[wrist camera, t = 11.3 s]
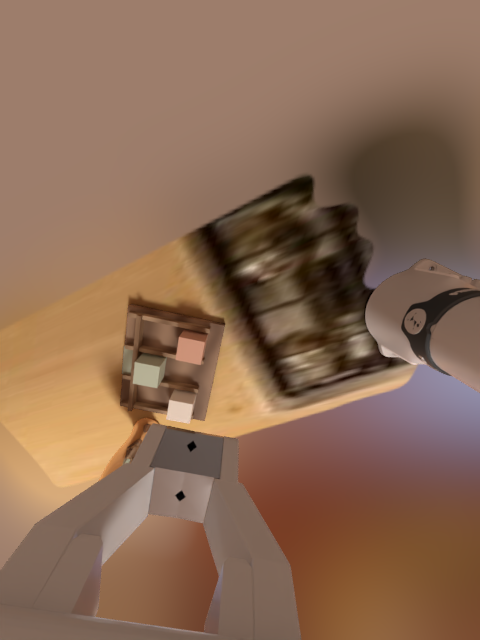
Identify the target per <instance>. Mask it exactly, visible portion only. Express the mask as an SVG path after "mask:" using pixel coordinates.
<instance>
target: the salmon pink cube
mask: <svg viewBox="0 0 480 640" xmlns="http://www.w3.org/2000/svg"><path fill="white" fill-rule="evenodd" d="M207 337H208V334H205V333H201V332H196V331H191V330H186V329H184V331H183V332H182V333H181V335H180V336H179V340H178V347H177V353H176V360H178V361H183V362H188V363H193V364H198V365H201V362H202V359H203V356H204V352H205V347H206V342H207Z"/></svg>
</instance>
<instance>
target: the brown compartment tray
mask: <svg viewBox="0 0 480 640" xmlns="http://www.w3.org/2000/svg"><path fill="white" fill-rule="evenodd" d="M224 327H225V324H223V323H219V322H214V321H209V320H204V319H200V318H195V317H190V316H186V315H181V314H176V313H171V312H167V311H162V310H157V309H152V308H148V307H143V306H138V305H133V304H130V305H128V315H127V328H126V340H125V346H124V354H123V367H122V374H123V376H122V389H121V401H120V406H124V407H128V410H129V411H132V410H133V408H134V409H140V410H145V411H150V412H156V413H161V414H166V415H167V412H168V406H169V400H170V398H171V395H172V393H173V391H174V389H179V390H185V391H190V392H195V393H197V394H196V399H195V405H194V410H193V413H192V417H191V419H197V420H202V421H205V416H206V412H207V407H208V402H209V398H210V393H211V388H212V383H213V379H214V374H215V369H216V364H217V360H218V355H219V350H220V346H221V341H222V336H223V331H224ZM184 329H186V330H191V331H196V332H201V333H205V334H208V337H207V342H206V347H205V352H204V356H203V359H202V362H201V365H198V364H193V363H188V362H183V361H178V360H176V353H177V347H178V340H179V336H180V335H181V333H182V332H183V331H184ZM143 353H149V354H154V355H159V356H163V357H167V359H166V366H165V373H164V378H163V379H162V381H161V383H160V384H159V386H158V388H153V387H148V386H143V385H137V384H133V376H134V366H135V361H136V360H137V359H138V358H139V357H140V356H141V355H142V354H143Z"/></svg>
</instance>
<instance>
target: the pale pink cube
mask: <svg viewBox="0 0 480 640" xmlns="http://www.w3.org/2000/svg"><path fill="white" fill-rule="evenodd" d="M196 394H197V393H195V392H190V391H185V390H179V389H174V391H173V393H172V395H171V398H170V400H169V406H168V412H167V420H172V421H178V422H183V423H188V424H189V423H190V420H191V417H192V413H193V410H194V405H195V399H196Z"/></svg>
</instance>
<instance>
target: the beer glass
mask: <svg viewBox="0 0 480 640" xmlns="http://www.w3.org/2000/svg"><path fill="white" fill-rule="evenodd" d="M153 423H156V424H159V423H158V422H157V421H155V420H153V419H150V418H142V419H139V420H138V421H137V422H136V423H135V425H134V427H133V430H132V433H131V435H130V437H129V438H128V439H127V440H126V442H125V443H124V444H123V445H122V446H121V447H120V448H119V450H118V451H117V452H116V453H115V454H114V456H113V457H112V458H111V460H110V461H109V463H108V464H107V466H106V468H105V469H104V471H103V473H102V475H101V477H100V479H99V481H100V480H101V479H103V478H104V477H106V476H107V475H109V474H110V473H112V472H113V471H115V470H116V469H118V468H119V467H121V466H122V465H124V464H125V463H129V464H131V462H132V460H133V458H134V457H135V455H136V453H137V451H138V449H139V447H140V445H141V443H142V441H143V439H144V437H145V435H146V433H147V431H148V430H149V428H150V426H151V425H152V424H153Z"/></svg>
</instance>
